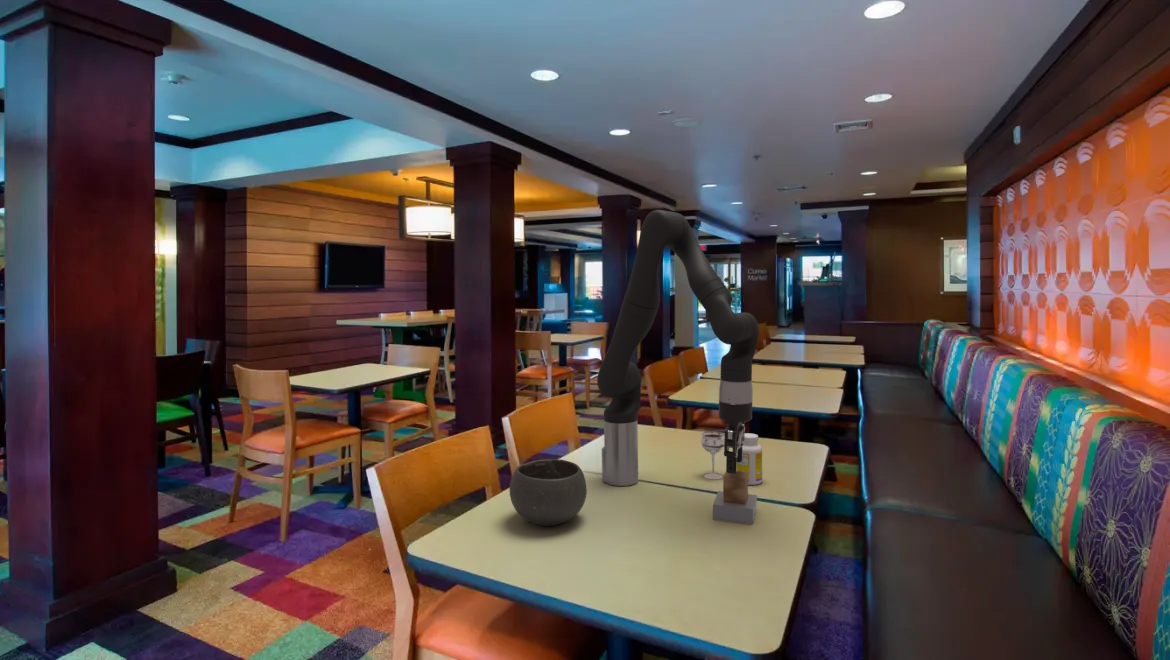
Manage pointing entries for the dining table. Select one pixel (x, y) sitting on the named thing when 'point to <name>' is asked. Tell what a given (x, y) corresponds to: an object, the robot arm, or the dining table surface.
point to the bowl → (548, 491)
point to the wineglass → (712, 448)
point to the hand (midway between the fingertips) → (734, 467)
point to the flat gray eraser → (735, 510)
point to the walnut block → (735, 487)
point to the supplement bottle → (751, 459)
